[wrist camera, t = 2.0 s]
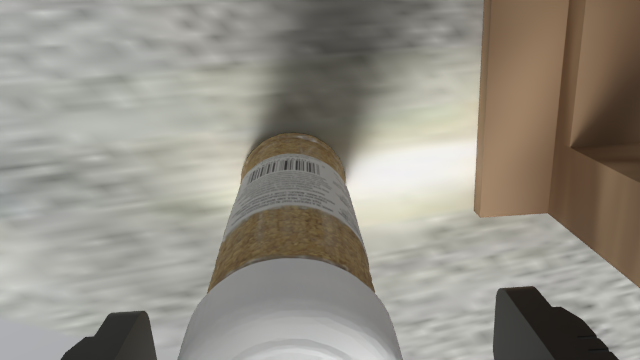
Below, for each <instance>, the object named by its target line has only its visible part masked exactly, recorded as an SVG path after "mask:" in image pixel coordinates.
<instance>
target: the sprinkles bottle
mask: <svg viewBox="0 0 640 360" xmlns="http://www.w3.org/2000/svg"><path fill="white" fill-rule="evenodd" d="M178 360H403V358H402V355H401V351H400V347H399V344H398V340H397V337H396V333H395V330H394V327H393V324H392V321H391V319H390V316H389V314H388V312H387V310H386V308H385V306H384V305H383V303H382V302H381V300H380V299H379V298H378V297H377V295H376V294H375V290H374V287H373V284H372V278H371V275H370V272H369V263H368V257H367V254H366V250H365V247H364V243H363V240H362V237H361V233H360V230H359V226H358V223H357V219H356V215H355V212H354V208H353V205H352V201H351V198H350V195H349V192H348V189H347V187H346V185H345V173H344V169H343V166H342V163H341V161H340V159H339V158H338V156H337V155H336V154H335V152H334V151H333V150H332V149H331V148H330V147H329V146H328V145H327V144H326V143H324V142H323V141H321V140H319V139H317V138H316V137H313V136H311V135H307V134H300V133H290V134H288V133H283V134H279V135H276V136H274V137H271V138H269V139H267V140H265V141H263V142H262V143H261V144H260V145H259V146H258V147H257V148H256V149H254V150H253V151H252V152H251V154H250V155H249V157H248V158H247V160H246V162H245V164H244V166H243V169H242V173H241V183H240V188H239V191H238V194H237V197H236V200H235V203H234V205H233V208H232V211H231V214H230V217H229V220H228V223H227V226H226V229H225V232H224V235H223V241H222V243H221V246H220V249H219V254H218V257H217V260H216V264H215V269H214V272H213V275H212V278H211V281H210V285H209V288H208V292H207V295H206V296H205V297H204V298H203V299H202V301H201V302H200V303H199V304H198V306H197V308H196V309H195V311H194V313H193V315H192V317H191V320H190V322H189V324H188V327H187V330H186V333H185V336H184V339H183V343H182V346H181V349H180V353H179V356H178Z"/></svg>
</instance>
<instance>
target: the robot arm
mask: <svg viewBox="0 0 640 360" xmlns="http://www.w3.org/2000/svg"><path fill="white" fill-rule="evenodd" d="M493 353H494V360H619V359H618V358H617V357H616V356H615V355H614V354H613V353H612V352H609V350H608V347H607V346H606V345H605V344H604V343H603V342H602V341H601V340H600V339H599V338H597V336H596V334H595V333H594V332H593V331H592V330H591V329H590V328H589V326H588V325H587V324H586V323H585V322H584V321H583V320H582V319H581V318H579V317H577V316H576V315H574V314H572V313H570V312H569V311H567V310H565V309H564V308H562V307H552V306H551V305H550V304H549V303H548V302H547V301H546V299H545V298H544V297H543V296H542V295H541V293H540V292H539V291H538V290H537V289H536V288H535V287H533V286H528V287H512V288H500V289H499V290H498V291H497V295H496V306H495V322H494V339H493ZM61 360H157V357H156V352H155V347H154V341H153V336H152V331H151V326H150V321H149V317H148V314H147V313H146V312H145V311H132V312H117V313H110V314H109V315H108V316H107V318H106V319H105V321H104V322H103V324H102V325H101V327H100V328H99V330H98V331H97V333H96V334H95V336H94V337H85V338H84V339H82V340H81V341H80V342H78V343H77V344H76V345H75V346H74V347H72V348H71V349H70V350H68V351H67V352H66V353H65V354H64V355H63V357H62V358H61Z"/></svg>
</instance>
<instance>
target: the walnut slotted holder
mask: <svg viewBox="0 0 640 360" xmlns="http://www.w3.org/2000/svg"><path fill="white" fill-rule="evenodd" d="M474 211H475V212H476V214H477V215H478V216H479V217H480V218H481V217H496V216H511V215H526V214H541V213H548V214H549V215H551V216H552V217H553V218H554V219H556V220H557V221H558V222H559V223H561V224H562V225H563V226H564V227H565V228H567V229H568V230H569V231H570V232H572V233H573V234H574V235H575V236H576V237H578V238H579V239H580V240H581V241H583V242H584V243H585V244H586V245H588V246H589V247H590V248H591V249H592V250H594V251H595V252H596V253H597V254H599V255H600V256H601V257H602V258H604V259H605V260H606V261H607V262H608V263H610V264H611V265H612V266H613V267H615V268H616V269H617V270H618V271H619V272H621V273H622V274H623V275H624V276H626V277H627V278H628V279H629V280H631V281H632V282H633V283H634V284H635V285H637V286H638V287H639V288H640V0H484V16H483V36H482V57H481V77H480V97H479V118H478V138H477V158H476V179H475V199H474Z"/></svg>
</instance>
